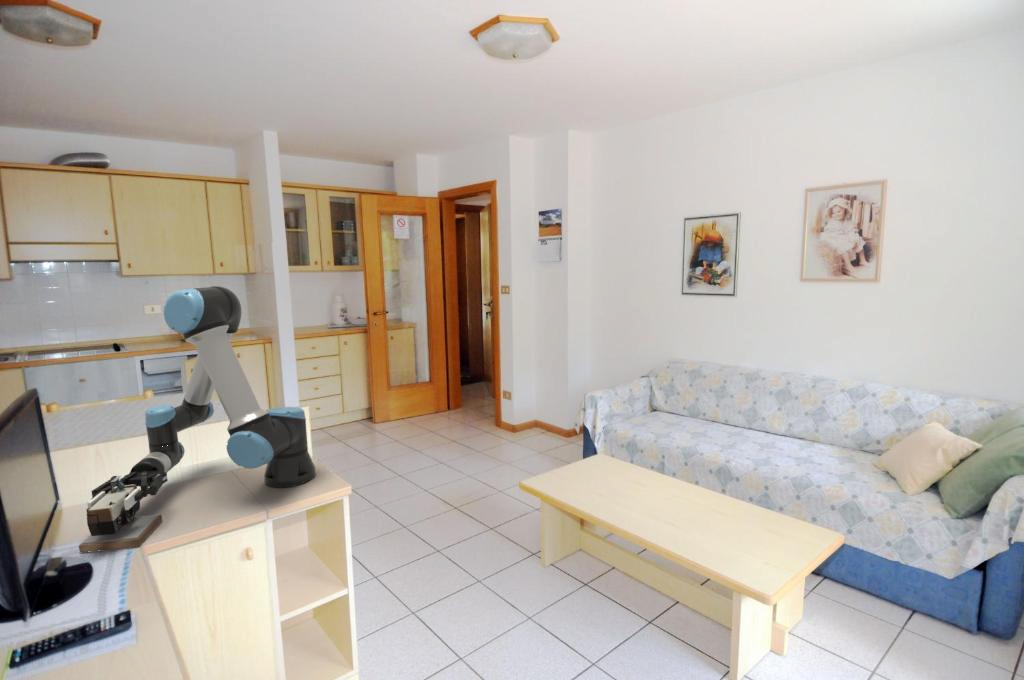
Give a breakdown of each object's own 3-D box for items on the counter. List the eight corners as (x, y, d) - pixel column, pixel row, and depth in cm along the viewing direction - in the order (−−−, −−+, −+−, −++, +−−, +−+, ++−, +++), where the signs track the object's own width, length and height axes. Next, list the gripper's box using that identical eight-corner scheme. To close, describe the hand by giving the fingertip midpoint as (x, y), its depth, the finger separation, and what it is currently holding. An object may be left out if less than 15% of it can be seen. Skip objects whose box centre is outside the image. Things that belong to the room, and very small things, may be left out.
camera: (121, 534, 131) (115, 495, 129) (85, 538, 129) (80, 498, 128) (149, 506, 145) (145, 471, 144) (118, 509, 144) (113, 473, 142)
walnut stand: (162, 521, 146) (161, 513, 145) (139, 546, 133) (138, 538, 133) (108, 526, 143) (107, 518, 143) (79, 553, 131) (78, 544, 130)
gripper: (190, 479, 157) (155, 516, 135) (112, 485, 153) (63, 524, 131) (187, 454, 156) (151, 488, 134) (109, 460, 152) (59, 495, 130)
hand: (108, 506), depth 132 cm, fingers closed on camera, 7 cm apart
